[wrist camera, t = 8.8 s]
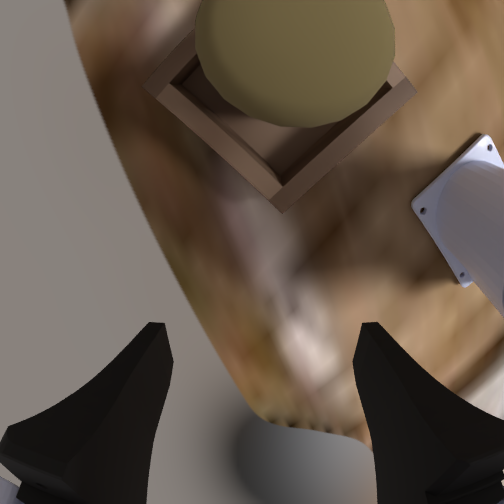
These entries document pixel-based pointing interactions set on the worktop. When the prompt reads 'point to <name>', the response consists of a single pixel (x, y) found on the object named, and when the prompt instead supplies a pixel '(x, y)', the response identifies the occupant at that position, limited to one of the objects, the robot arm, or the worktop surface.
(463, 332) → the worktop surface
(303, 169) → the holder
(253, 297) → the worktop surface
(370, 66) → the cork
